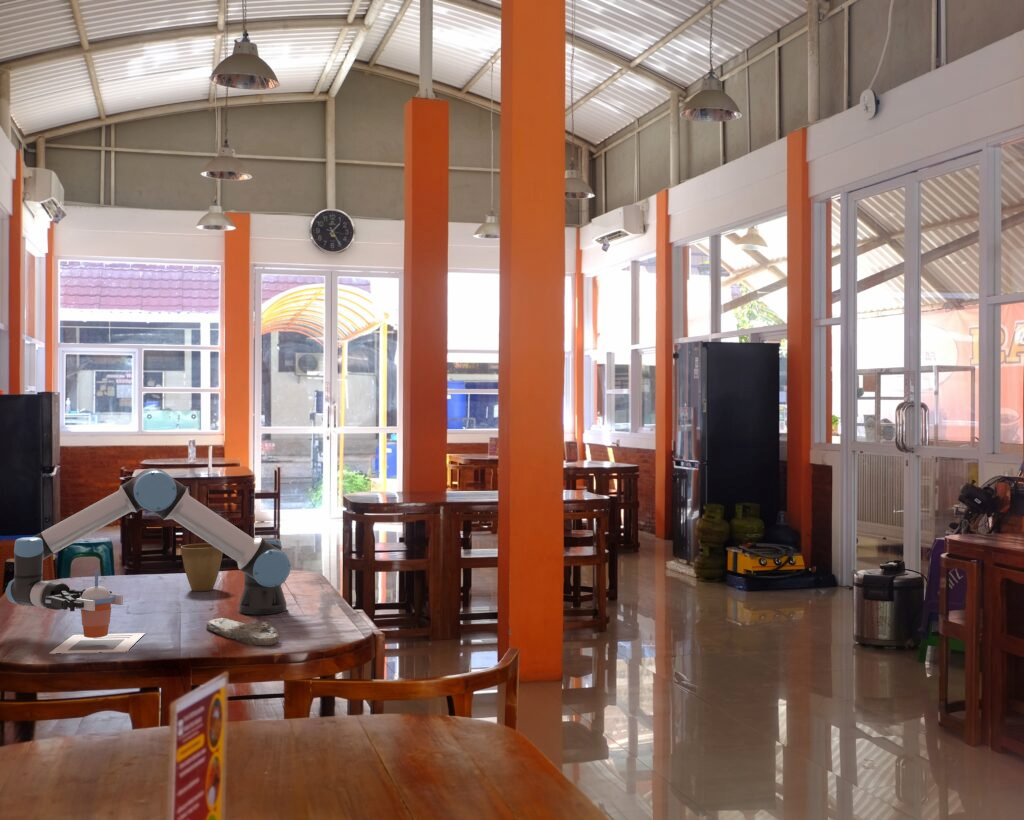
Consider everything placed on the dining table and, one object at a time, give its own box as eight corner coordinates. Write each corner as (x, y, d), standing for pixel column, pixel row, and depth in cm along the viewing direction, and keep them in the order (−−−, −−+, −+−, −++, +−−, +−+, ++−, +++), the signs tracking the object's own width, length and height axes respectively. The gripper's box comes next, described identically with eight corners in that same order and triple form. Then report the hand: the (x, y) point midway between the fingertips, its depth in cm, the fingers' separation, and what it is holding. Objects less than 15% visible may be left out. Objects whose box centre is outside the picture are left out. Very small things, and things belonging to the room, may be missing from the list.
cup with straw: (101, 640, 284) (101, 573, 284) (71, 638, 286) (71, 572, 286) (120, 633, 293) (120, 568, 293) (90, 631, 295) (91, 567, 295)
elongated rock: (227, 629, 319) (197, 636, 312) (226, 612, 319) (196, 618, 312) (290, 642, 294) (259, 650, 287) (289, 623, 294) (258, 631, 287)
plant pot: (232, 588, 380) (232, 544, 380) (200, 594, 367) (201, 549, 367) (203, 584, 388) (203, 541, 388) (171, 590, 375) (171, 546, 375)
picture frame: (145, 634, 305) (145, 632, 305) (126, 651, 283) (126, 650, 283) (73, 635, 302) (73, 634, 302) (49, 653, 280) (49, 652, 280)
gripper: (82, 602, 307) (138, 609, 297) (18, 615, 288) (75, 623, 278) (82, 576, 307) (138, 583, 297) (18, 588, 288) (75, 595, 278)
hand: (108, 602), depth 287 cm, fingers closed on cup with straw, 9 cm apart
